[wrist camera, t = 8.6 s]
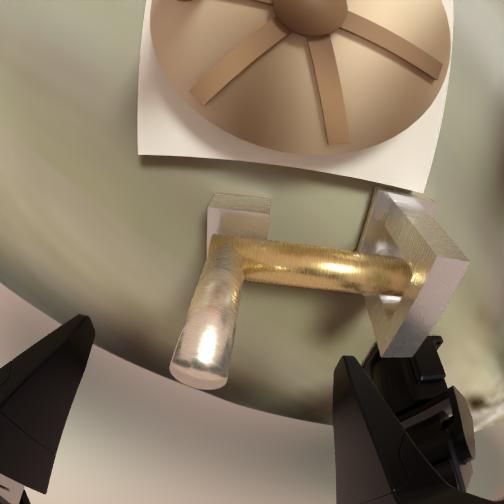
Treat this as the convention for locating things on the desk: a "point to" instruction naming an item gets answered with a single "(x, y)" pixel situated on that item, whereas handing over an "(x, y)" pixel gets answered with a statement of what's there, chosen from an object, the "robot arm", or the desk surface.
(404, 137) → the wheel base
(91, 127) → the desk surface
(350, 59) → the handwheel
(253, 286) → the desk surface
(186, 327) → the hook rod
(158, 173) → the desk surface
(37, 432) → the robot arm
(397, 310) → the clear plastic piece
